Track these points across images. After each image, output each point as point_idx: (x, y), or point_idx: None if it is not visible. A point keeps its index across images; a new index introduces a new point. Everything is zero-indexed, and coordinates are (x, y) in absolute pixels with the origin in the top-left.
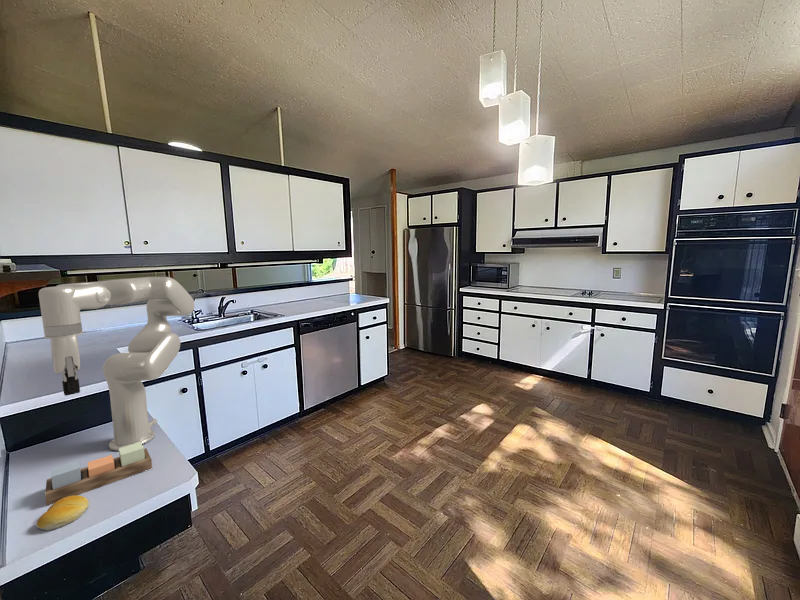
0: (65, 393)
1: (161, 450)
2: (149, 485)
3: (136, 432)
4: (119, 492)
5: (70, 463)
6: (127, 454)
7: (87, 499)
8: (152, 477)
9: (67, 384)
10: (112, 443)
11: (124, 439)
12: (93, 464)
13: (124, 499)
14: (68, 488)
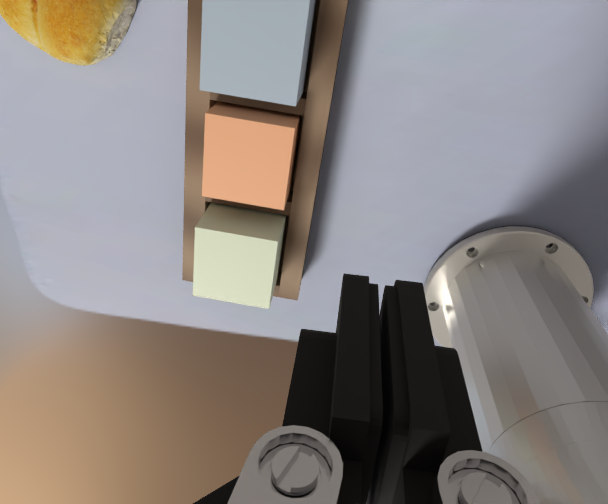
0: (343, 293)
1: (311, 320)
2: (83, 219)
3: (451, 329)
4: (106, 150)
5: (293, 71)
6: (195, 244)
7: (77, 64)
8: (130, 241)
9: (288, 412)
10: (538, 245)
11: (469, 282)
12: (248, 139)
13: (47, 147)
14: (188, 29)
